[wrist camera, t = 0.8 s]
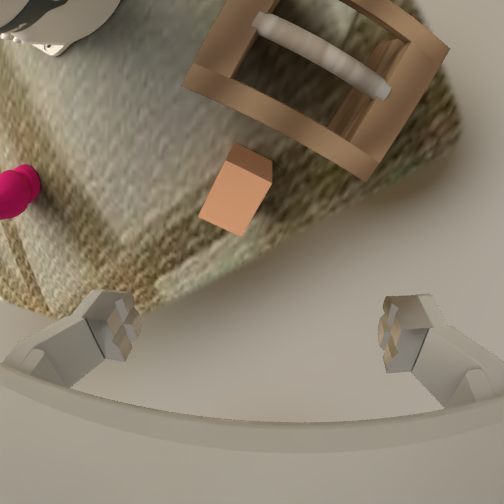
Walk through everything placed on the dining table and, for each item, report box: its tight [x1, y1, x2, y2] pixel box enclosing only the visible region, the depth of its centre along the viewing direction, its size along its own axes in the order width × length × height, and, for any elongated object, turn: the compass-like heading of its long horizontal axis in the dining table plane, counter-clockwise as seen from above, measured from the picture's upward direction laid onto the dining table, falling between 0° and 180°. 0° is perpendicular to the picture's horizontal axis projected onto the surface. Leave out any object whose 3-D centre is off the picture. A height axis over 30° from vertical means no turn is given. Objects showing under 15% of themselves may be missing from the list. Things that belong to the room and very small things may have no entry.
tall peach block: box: [198, 143, 272, 237], centre depth 34 cm, size 5×7×8 cm
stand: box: [182, 0, 450, 182], centre depth 24 cm, size 16×14×14 cm
